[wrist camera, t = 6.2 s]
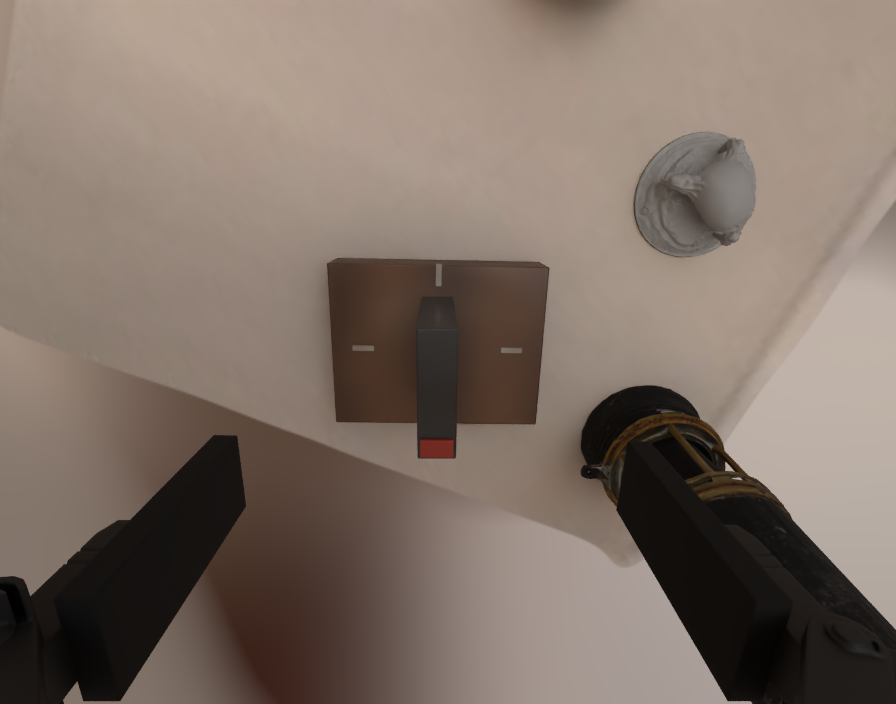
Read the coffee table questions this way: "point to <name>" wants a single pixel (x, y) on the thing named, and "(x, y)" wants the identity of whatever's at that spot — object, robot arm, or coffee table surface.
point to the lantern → (718, 493)
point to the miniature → (696, 194)
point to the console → (394, 336)
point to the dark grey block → (437, 378)
